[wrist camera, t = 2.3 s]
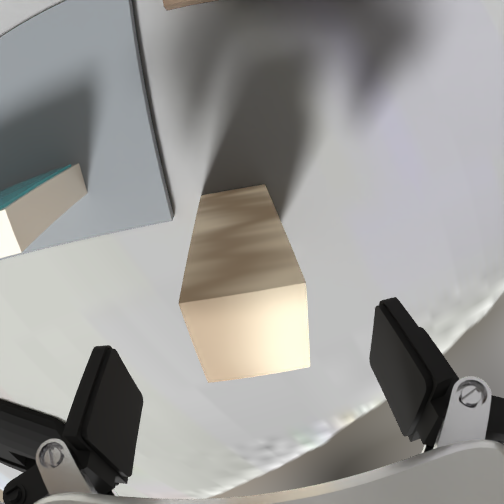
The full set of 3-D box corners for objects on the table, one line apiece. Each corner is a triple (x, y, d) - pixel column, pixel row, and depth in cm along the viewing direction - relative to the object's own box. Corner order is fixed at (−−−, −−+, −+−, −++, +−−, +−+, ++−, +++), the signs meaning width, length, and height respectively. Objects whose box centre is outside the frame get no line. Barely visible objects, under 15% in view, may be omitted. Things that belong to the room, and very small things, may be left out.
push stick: (264, 184, 19) (306, 282, 10) (272, 241, 21) (310, 366, 12) (200, 195, 19) (178, 303, 10) (213, 251, 21) (208, 382, 12)
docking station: (-83, 367, 28) (-93, 384, 23) (78, 412, 30) (69, 445, 26) (-19, 443, 39) (-25, 459, 35) (135, 484, 42) (133, 507, 38)
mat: (129, -20, 12) (125, -23, 12) (173, 216, 20) (172, 220, 19) (-71, 98, 12) (-77, 99, 12) (-26, 263, 20) (-30, 268, 19)
